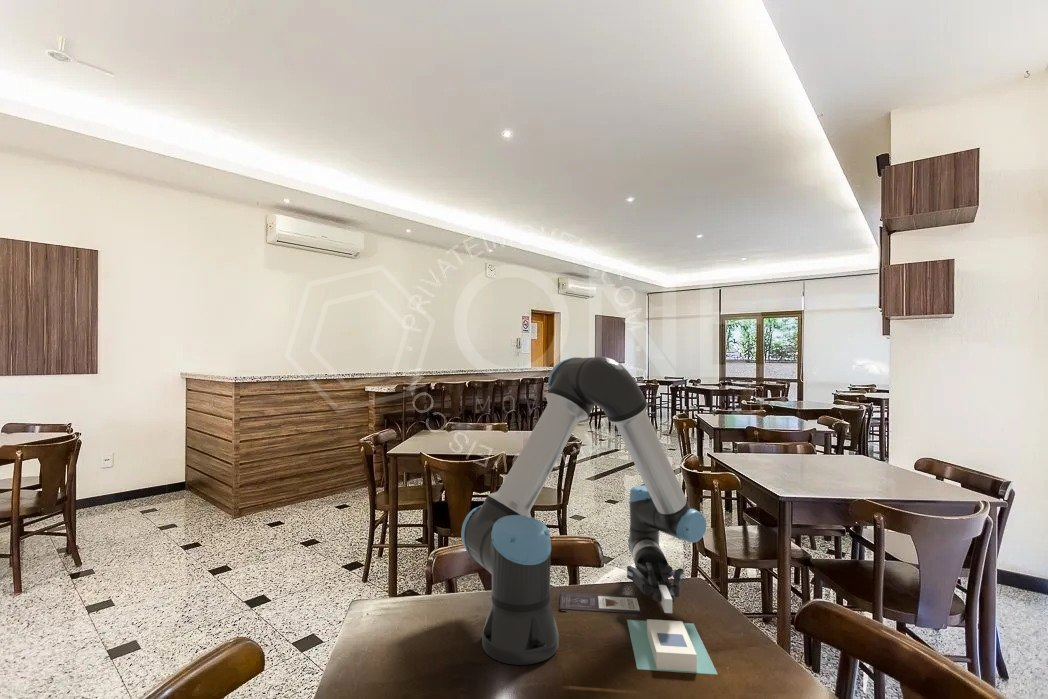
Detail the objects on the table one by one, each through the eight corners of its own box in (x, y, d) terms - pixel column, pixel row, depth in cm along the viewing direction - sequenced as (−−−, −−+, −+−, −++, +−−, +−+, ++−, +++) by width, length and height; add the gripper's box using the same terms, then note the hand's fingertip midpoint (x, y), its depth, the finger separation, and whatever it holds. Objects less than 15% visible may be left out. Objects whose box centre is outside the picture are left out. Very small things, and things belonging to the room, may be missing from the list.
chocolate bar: (560, 591, 120) (636, 595, 118) (560, 595, 120) (636, 599, 118) (559, 608, 111) (640, 613, 109) (559, 613, 111) (640, 617, 109)
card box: (647, 634, 100) (656, 669, 88) (647, 619, 101) (656, 651, 89) (682, 636, 100) (696, 672, 88) (682, 621, 100) (696, 654, 88)
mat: (637, 671, 89) (637, 669, 89) (626, 621, 106) (626, 619, 106) (717, 676, 87) (717, 674, 87) (693, 625, 105) (693, 623, 105)
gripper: (677, 578, 119) (702, 627, 96) (622, 575, 121) (634, 623, 97) (677, 546, 120) (702, 588, 96) (622, 544, 121) (634, 584, 98)
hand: (668, 606), depth 97 cm, fingers closed
